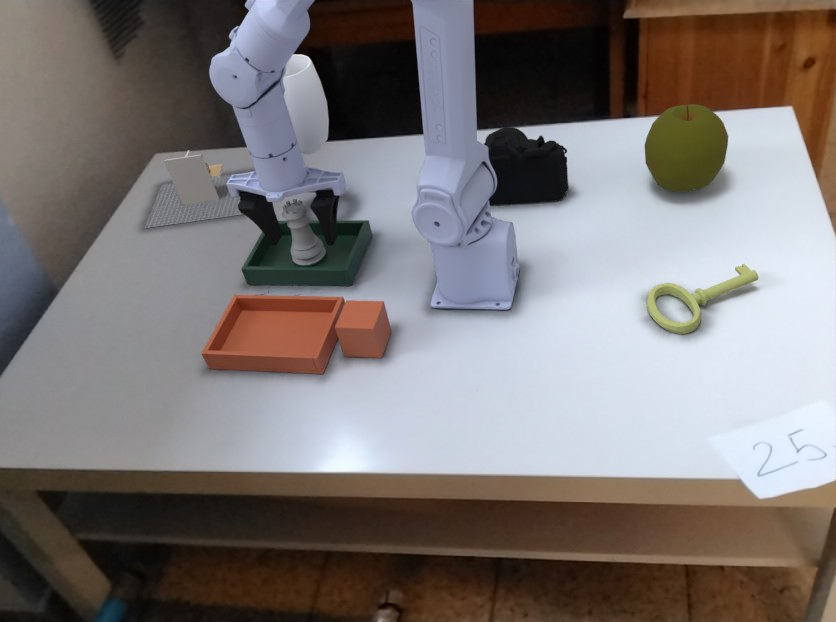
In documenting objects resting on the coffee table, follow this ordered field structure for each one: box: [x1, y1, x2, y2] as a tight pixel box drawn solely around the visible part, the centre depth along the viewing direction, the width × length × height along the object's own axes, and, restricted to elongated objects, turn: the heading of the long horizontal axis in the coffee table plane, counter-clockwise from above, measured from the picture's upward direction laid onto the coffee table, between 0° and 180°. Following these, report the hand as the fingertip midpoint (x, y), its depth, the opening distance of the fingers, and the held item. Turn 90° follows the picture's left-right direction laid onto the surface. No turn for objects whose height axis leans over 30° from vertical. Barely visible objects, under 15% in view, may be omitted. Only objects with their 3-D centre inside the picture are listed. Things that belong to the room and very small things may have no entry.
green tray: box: [240, 219, 374, 287], centre depth 106 cm, size 14×10×2 cm
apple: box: [644, 103, 729, 193], centre depth 102 cm, size 10×10×11 cm
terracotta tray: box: [201, 294, 346, 375], centre depth 96 cm, size 14×10×2 cm
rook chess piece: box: [281, 198, 326, 266], centre depth 104 cm, size 4×4×8 cm
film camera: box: [483, 126, 569, 206], centre depth 108 cm, size 15×10×9 cm, turn 82°
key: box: [646, 263, 759, 335], centre depth 90 cm, size 7×12×2 cm, turn 125°
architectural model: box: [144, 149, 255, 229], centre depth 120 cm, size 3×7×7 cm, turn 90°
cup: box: [283, 53, 330, 155], centre depth 107 cm, size 7×7×21 cm
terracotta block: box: [335, 299, 392, 359], centre depth 92 cm, size 4×4×4 cm
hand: (304, 240), depth 105 cm, fingers open, 7 cm apart
